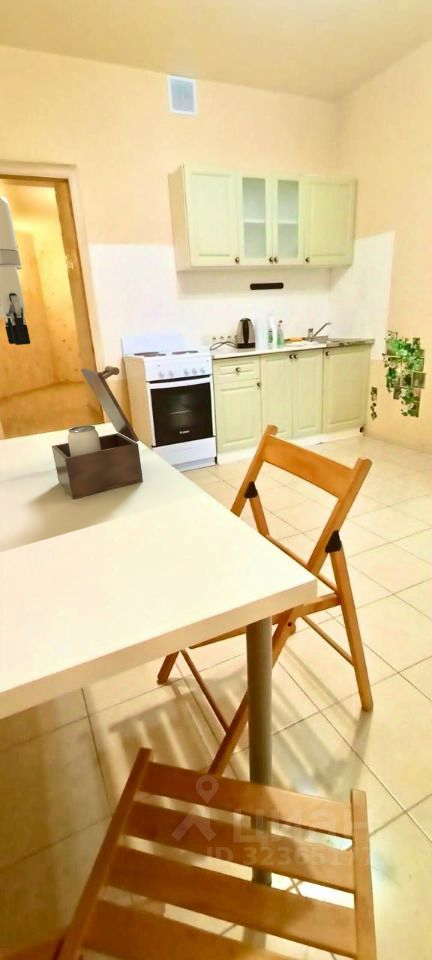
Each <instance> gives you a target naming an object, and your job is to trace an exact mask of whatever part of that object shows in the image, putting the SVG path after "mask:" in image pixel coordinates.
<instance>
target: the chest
mask: <svg viewBox="0 0 432 960" xmlns="http://www.w3.org/2000/svg"><path fill="white" fill-rule="evenodd" d="M99 441H100V447H101V451H96V452H91V453H86V454H82V455H77V456H72V457H71V454H70V449H69V443H68V442H65V443H60V444H55V445H51V450H52V455H53V459H54V466H55V469H56V475H57V480H58V483H59V484H60V485H61V487H62V488H63V489H64V490H65V491H66V493H67V494H68V495H69V496H70V498H71V499H72V500H75V499H79V498H84V497H88V496H92V495H96V494H100V493H104V492H107V491H112V490H115V489H119V488H123V487H126V486H131V485H134V484H139V483H142V482H144V479H143V471H142V463H141V455H140V447H139V443H138V442H135V441H133V440H131V439H129V438H127V437H126V436H124V435H122V434H120V433H118V432H116V433H110V434H106V435H100V436H99Z"/></svg>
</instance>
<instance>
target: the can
mask: <svg viewBox="0 0 432 960" xmlns="http://www.w3.org/2000/svg"><path fill="white" fill-rule="evenodd" d="M67 431H68V434H67V443H69V449H70V454H71V457H72V456H77V455H82V454H86V453H91V452H96V451H101V447H100V441H99V437H100V436H99V432H98V431H97V429H96V426H95V425H89V424H87V425H79V426H74V427H70V428H69V429H68V430H67Z"/></svg>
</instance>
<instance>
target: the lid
mask: <svg viewBox="0 0 432 960" xmlns="http://www.w3.org/2000/svg"><path fill="white" fill-rule="evenodd" d="M80 372H81V373H82V375H83V377H84V379H85V380H86V383H88V385H89V387H90V389H91V390H92V392H93V394H94V395H95V397H96V399H97V401H98V402H99V404H100V405H101V408H102V409H103V411H104V412H105V414H106V416H107V418H108V419H109V421H110V422H111V424H112V426H113V428H114V430H115V431H116V433H119V434H121V435H123V436H125V437H127V438H129V439H130V440H132V441H134V442H136V443H138V442H139V441H140V439H139V437H138V436H137V434H136V432H135V430H134V429H133V426H132V425H131V424H130V422H129V420H128V418H127V416H126V414H125V413H124V411H123V409H122V407H121V405H120V403H119V402H118V400H117V398H116V397H115V395H114V393H113V392H112V390H111V388H110V386H109V384H108V383H107V379H108V378H111V377H112V376H118V375H119V374H120V369H119V368H118V367H116V366H113V365H112V366H111V365H106V366H105V368H104V370H103V371H97V370H93V369H89V368H85V367H82V368H81V369H80Z"/></svg>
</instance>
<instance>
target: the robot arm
mask: <svg viewBox="0 0 432 960" xmlns="http://www.w3.org/2000/svg"><path fill="white" fill-rule="evenodd" d="M15 231H16V230H15V227H14V222H13V216H12V211H11V207H10V204H9V202H8V200H7V199H6V197H4V196H2V195H0V319H2V318H4V325H5V326H4V328H5V332H6V337H7V341H8V344H9V345H16V346H23V345H30V344H31V338H30V334H29V328H28V325H27V321H26V318H25V315H26V306H25V299H24V295H23V290H22V285H21V280H20V276H19V272H18V271H19V270H22V269H23V267H22V261H21V257H20V252H19V246H18V243H17V242H18V241H17V237H16V232H15Z"/></svg>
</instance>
